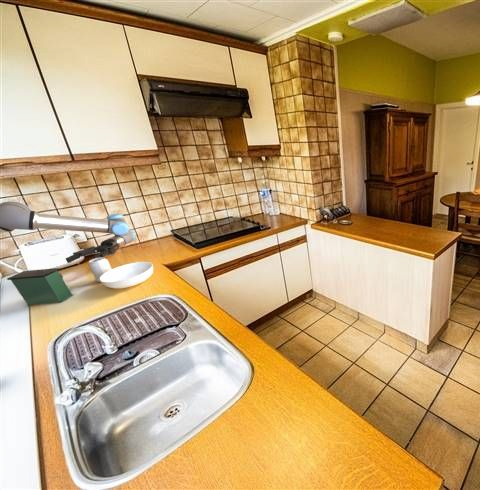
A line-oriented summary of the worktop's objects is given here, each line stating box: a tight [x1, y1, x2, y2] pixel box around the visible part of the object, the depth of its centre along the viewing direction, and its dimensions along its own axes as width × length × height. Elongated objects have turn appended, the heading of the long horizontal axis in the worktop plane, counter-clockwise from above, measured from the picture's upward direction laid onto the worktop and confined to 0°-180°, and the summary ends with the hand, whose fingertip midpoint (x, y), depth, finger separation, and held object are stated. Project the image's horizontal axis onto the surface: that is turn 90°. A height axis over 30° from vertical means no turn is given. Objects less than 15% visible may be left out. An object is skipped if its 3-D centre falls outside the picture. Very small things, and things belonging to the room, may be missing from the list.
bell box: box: [6, 267, 73, 307], centre depth 122 cm, size 15×7×15 cm, turn 95°
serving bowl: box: [100, 261, 154, 289], centre depth 135 cm, size 21×21×7 cm
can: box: [88, 257, 113, 283], centre depth 139 cm, size 8×8×12 cm
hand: (80, 259), depth 140 cm, fingers open, 13 cm apart
